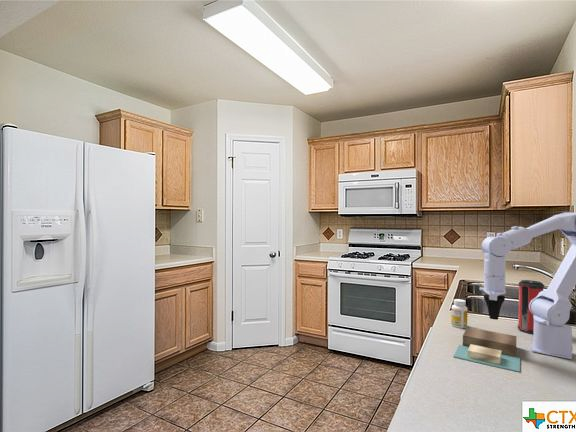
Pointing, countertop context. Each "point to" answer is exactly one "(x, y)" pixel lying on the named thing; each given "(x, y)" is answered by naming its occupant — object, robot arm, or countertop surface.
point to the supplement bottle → (459, 314)
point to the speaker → (527, 304)
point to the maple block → (484, 354)
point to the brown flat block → (490, 340)
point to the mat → (506, 362)
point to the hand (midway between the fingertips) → (493, 318)
